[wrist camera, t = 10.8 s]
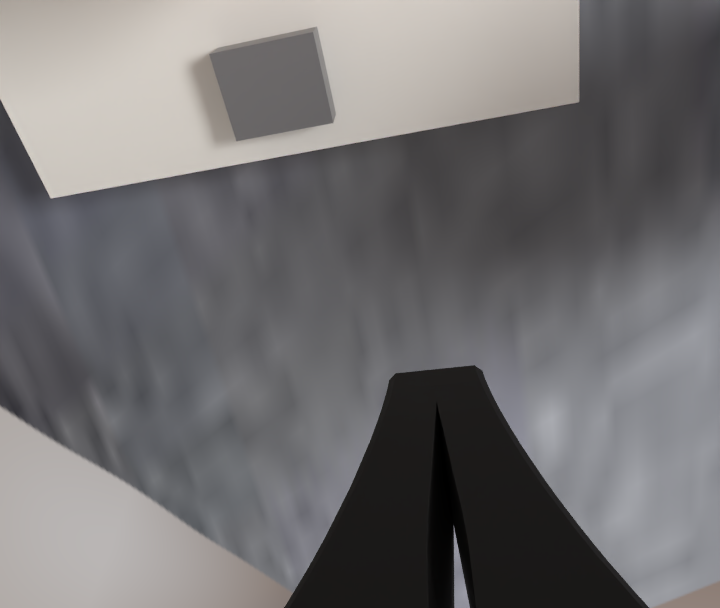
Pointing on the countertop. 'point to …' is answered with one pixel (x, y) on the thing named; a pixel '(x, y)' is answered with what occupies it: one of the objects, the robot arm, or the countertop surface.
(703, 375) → the countertop surface
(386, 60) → the socket plate
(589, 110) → the countertop surface
